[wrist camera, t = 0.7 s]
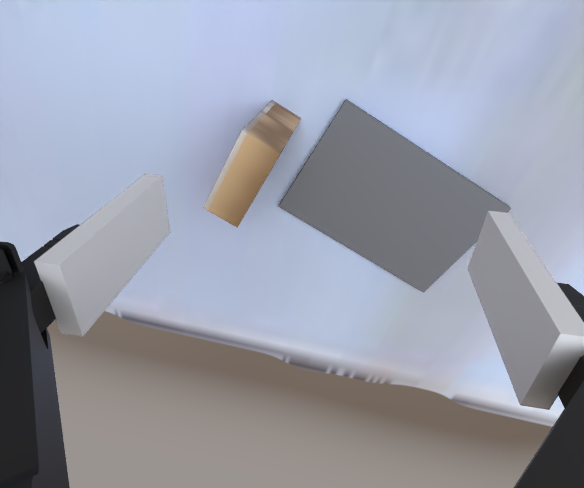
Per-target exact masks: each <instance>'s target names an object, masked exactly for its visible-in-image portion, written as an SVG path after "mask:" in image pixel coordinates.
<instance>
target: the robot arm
mask: <svg viewBox="0 0 584 488" xmlns="http://www.w3.org/2000/svg"><path fill="white" fill-rule="evenodd" d="M169 233H170V227H169V220H168V213H167V206H166V198H165V191H164V184H163V176H160V175H151V174H144V175H143V176H142V177H141V178H139V179H138V180H137V181H135V182H134V183H133V184H132V185H130V186H129V187H128V188H127V189H125V190H124V191H123V192H121V193H120V194H119V195H118V196H116V197H115V198H114V199H113V200H111V201H110V202H109V203H108V204H106V205H105V206H104V207H102V208H101V209H100V210H99V211H97V212H96V213H95V214H94V215H92V216H91V217H90V218H89V219H87V220H86V221H85V222H83V223H82V224H81V225H78V224H77V225H75V226H73V227H70V228H68V229H66V230H63V231H62V232H61V233H59V234H58V235H57V236H55V237H54V238H53V240H50V241H49V242H48V243H46V244H45V245H44V247H41V248H40V249H38V250H37V251H36V252H34V253H33V254H32V255H30V256H29V257H28V258H27V259H25V260H24V261H23V262H21V261H20V258H19V255H18V253H17V250H16V248H15V246H14V245H13V244H11V243H8V242H0V488H69V481H68V473H67V465H66V457H65V450H64V442H63V434H62V426H61V419H60V411H59V404H58V395H57V388H56V381H55V372H54V364H53V357H52V350H51V342H50V335H49V333H48V330H47V327H48V326H49V325H50V324H51V323H52V322H53V321H54V320H56V323H57V325H58V328H59V331H60V333H63V334H69V335H75V336H84V334H85V333H86V332H87V331H88V330H89V329H90V327H91V326H92V325H93V324H94V323H95V321H96V320H97V319H98V318H99V317H100V315H101V314H102V313H103V312H104V311H105V310H106V308H107V307H108V306H109V305H110V304H111V302H112V301H113V300H114V299H115V298H116V296H117V295H118V294H119V293H120V292H121V290H122V289H123V288H124V287H125V286H126V284H127V283H128V282H129V281H130V280H131V279H132V277H133V276H134V275H135V274H136V273H137V271H138V270H139V269H140V268H141V267H142V265H143V264H144V263H145V262H146V261H147V259H148V258H149V257H150V256H151V255H152V253H153V252H154V251H155V250H156V249H157V248H158V246H159V245H160V244H161V243H162V242H163V240H164V239H165V238H166V237H167V236H168V234H169ZM468 271H469V274H470V276H471V279H472V282H473V284H474V287H475V289H476V292H477V294H478V297H479V300H480V302H481V305H482V307H483V310H484V313H485V315H486V318H487V320H488V323H489V326H490V328H491V331H492V333H493V336H494V339H495V341H496V344H497V346H498V349H499V351H500V354H501V357H502V359H503V362H504V364H505V367H506V370H507V372H508V375H509V377H510V380H511V383H512V385H513V388H514V390H515V393H516V396H517V398H518V401H519V403H520V405H522V406H529V407H535V408H542V409H548V410H549V409H550V408H551V406H552V404H553V403H554V401H555V400H556V398H557V397H558V396H559V398H560V400H561V402H562V404H563V406H564V408H565V409H564V411H563V412H562V414H561V415H560V417H559V418H558V420H557V421H556V423H555V424H554V426H553V427H552V429H551V431H550V432H549V434H548V435H547V437H546V438H545V440H544V441H543V443H542V445H541V446H540V448H539V449H538V451H537V452H536V454H535V455H534V457H533V459H532V460H531V462H530V463H529V465H528V466H527V468H526V469H525V471H524V473H523V474H522V476H521V477H520V479H519V480H518V482H517V483H516V485H515V487H514V488H584V296H583V295H582V294H581V293H579V292H578V291H577V290H575V289H574V288H573V287H571V286H570V285H569V284H563V283H556V281H555V280H554V278H553V277H552V275H551V274H550V272H549V271H548V269H547V268H546V267H545V265H544V264H543V262H542V261H541V259H540V258H539V256H538V255H537V253H536V252H535V250H534V249H533V247H532V246H531V245H530V243H529V242H528V240H527V239H526V237H525V236H524V234H523V233H522V231H521V230H520V228H519V227H518V225H517V224H516V223H515V221H514V220H513V218H512V217H511V215H510V214H509V213H506V212H496V211H488V212H487V215H486V218H485V221H484V224H483V226H482V229H481V232H480V235H479V238H478V241H477V244H476V246H475V249H474V252H473V255H472V258H471V261H470V264H469V267H468Z"/></svg>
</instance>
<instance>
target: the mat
mask: <svg viewBox="0 0 584 488" xmlns="http://www.w3.org/2000/svg"><path fill="white" fill-rule="evenodd" d="M279 207H281V208H282V209H284V210H286V211H287V212H289V213H291V214H292V215H294V216H296V217H297V218H299V219H301V220H303V221H304V222H306V223H308V224H309V225H311V226H313V227H314V228H316V229H318V230H319V231H321V232H323V233H324V234H326V235H328V236H329V237H331V238H333V239H334V240H336V241H338V242H340V243H341V244H343V245H345V246H346V247H348V248H350V249H351V250H353V251H355V252H356V253H358V254H360V255H361V256H363V257H365V258H366V259H368V260H370V261H371V262H373V263H375V264H377V265H378V266H380V267H382V268H383V269H385V270H387V271H388V272H390V273H392V274H393V275H395V276H397V277H398V278H400V279H402V280H403V281H405V282H407V283H408V284H410V285H412V286H414V287H415V288H417V289H419V290H420V291H422V292H425V291H426V290H427V289H428V288H429V287H430V286H431V285H432V284H433V283H434V282H435V281H436V280H437V279H438V278H439V277H440V276H441V275H442V274H443V273H444V272H445V271H446V270H448V269H449V268H450V267H451V266H452V265H453V264H454V263H455V262H456V261H457V260H458V259H459V258H460V257H461V256H462V255H463V254H464V253H465V252H466V251H467V250H468V249H469V248H471V247H472V246H473V245H474V244H475V243H476V242H477V241H478V238H479V235H480V232H481V229H482V226H483V224H484V221H485V218H486V215H487V212H488V211H496V212H506V213H507V212H508V211H509V210H510V209H511V208H510V207H509V206H508V205H507V204H505V203H504V202H502V201H501V200H499V199H498V198H496V197H495V196H493V195H492V194H490V193H488V192H487V191H485V190H484V189H482V188H481V187H479V186H478V185H476V184H475V183H473V182H472V181H470V180H469V179H467V178H466V177H464V176H463V175H461V174H460V173H458V172H456V171H455V170H453V169H452V168H450V167H449V166H447V165H446V164H444V163H443V162H441V161H440V160H438V159H437V158H435V157H434V156H432V155H431V154H429V153H428V152H426V151H424V150H423V149H421V148H420V147H418V146H417V145H415V144H414V143H412V142H411V141H409V140H408V139H406V138H405V137H403V136H402V135H400V134H399V133H397V132H396V131H394V130H393V129H391V128H389V127H388V126H386V125H385V124H383V123H382V122H380V121H379V120H377V119H376V118H374V117H373V116H371V115H370V114H368V113H367V112H365V111H364V110H362V109H361V108H359V107H357V106H356V105H354V104H353V103H351V102H350V101H348V100H347V99H346V100H345V102H344V103H343V105H342V106H341V108H340V110H339V111H338V113H337V114H336V116H335V117H334V119H333V121H332V122H331V124H330V125H329V127H328V129H327V130H326V132H325V133H324V135H323V136H322V138H321V140H320V141H319V143H318V144H317V146H316V148H315V149H314V151H313V152H312V154H311V155H310V157H309V159H308V160H307V162H306V163H305V165H304V167H303V168H302V170H301V171H300V173H299V174H298V176H297V178H296V179H295V181H294V182H293V184H292V186H291V187H290V189H289V190H288V192H287V193H286V195H285V197H284V198H283V200H282V201H281V203H280V205H279Z"/></svg>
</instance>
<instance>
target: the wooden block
mask: <svg viewBox="0 0 584 488" xmlns="http://www.w3.org/2000/svg"><path fill="white" fill-rule="evenodd" d="M300 119H301V118H300V117H298V116H297V115H295V114H293V113H292V112H290V111H289V110H287V109H286V108H284V107H282V106H281V105H279V104H278V103H276V102H275V101H273V100H272V101H271V102H270V103H269V104H268V105H267V106H266V107H265V108H264V109H263V110H262V111H261V112H260V113H259V114H258V115H257V116H256V117H255V118H254V119H253V120H252V121H251V122H250V123H249V124H248V125H247V126H246V127H245V128H244V129H243V130H242V131H241V133H240V135H239V137H238V139H237V141H236V143H235V145H234V147H233V149H232V151H231V153H230V155H229V157H228V159H227V161H226V163H225V165H224V167H223V169H222V171H221V173H220V175H219V177H218V179H217V181H216V183H215V185H214V187H213V189H212V191H211V193H210V195H209V197H208V199H207V201H206V203H205V205H204V207H203V208H204V209H206V210H208V211H210V212H211V213H213V214H215V215H216V216H218V217H220V218H222V219H223V220H225V221H227V222H229V223H230V224H232V225H234V226H236V227H238V226H239V224H240V222H241V220H242V219H243V217H244V215H245V214H246V212H247V210H248V208H249V207H250V205H251V203H252V202H253V200H254V198H255V196H256V195H257V193H258V191H259V190H260V188H261V186H262V185H263V183H264V181H265V179H266V178H267V176H268V174H269V173H270V171H271V169H272V167H273V166H274V164H275V162H276V160H277V159H278V157H279V155H280V154H281V152H282V150H283V148H284V147H285V145H286V143H287V142H288V140H289V138H290V136H291V135H292V133H293V131H294V130H295V128H296V126H297V124H298V123H299V121H300Z"/></svg>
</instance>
